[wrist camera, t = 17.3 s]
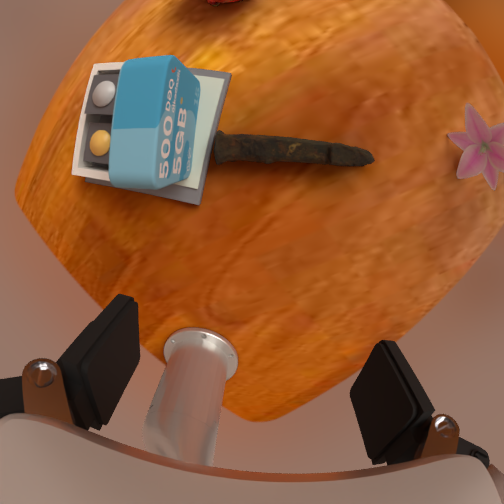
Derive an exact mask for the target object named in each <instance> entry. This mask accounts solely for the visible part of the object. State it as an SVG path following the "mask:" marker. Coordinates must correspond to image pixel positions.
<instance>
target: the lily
mask: <svg viewBox="0 0 504 504" xmlns="http://www.w3.org/2000/svg"><path fill="white" fill-rule="evenodd" d="M465 128H466V132H452V133H448V134H447V135H448V137H449V138H450V140H452V141H453V142H454V143H455V144H456V145H457V146H458V147H459V148H461V149H462V150H463V151H464V152H463V154H462V156H461V159H460V162H459V165H458V169H457V173H456V175H457V178H458V179H464V178H469V177H473V176H476V175H478V174H480V173H482V174H483V176H484V178H485V179H486V181H487V183H488V184H489V186H490V187H491V188H492V190H494V191H495V190H496V187H497V181H498V171H500V172H504V123H500V124H497V125H495V126H492V127H490V128H489V127H488V125H487V124H486V122H485V121H484V120H483V118H482V117H481V116H480V115H479V113H478V112H477V111H476V110H475V109H474V107H473V106H472V105H471V104H469V103H466V105H465Z"/></svg>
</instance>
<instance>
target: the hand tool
mask: <svg viewBox="0 0 504 504" xmlns="http://www.w3.org/2000/svg"><path fill="white" fill-rule="evenodd" d="M214 155H215V160H216V164H218V165H220V164H222V163H224V162H226V161H232V162H234V161H237V160H242V161H251V162H261V163H262V162H263V163H266V164H270V163H273V162H277V161H280V162H302V163H317V164H324V165H326V164H329V165H336V166H364V165H367V164H371V163H373V162H374V161H375V160H374V158H373V156H372V154H371V153H370V152H369V151H367V150H364V149H361V148H358V147H350V146H347V145H344V144H341V143H329V142H323V141H315V140H307V139H299V138H291V137H279V136H265V135H247V134H238V135H227V134H224V133H223V132H222V131H220V130H219V131H217V133H216V136H215V145H214Z"/></svg>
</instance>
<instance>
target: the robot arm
mask: <svg viewBox="0 0 504 504" xmlns="http://www.w3.org/2000/svg"><path fill="white" fill-rule="evenodd" d="M164 357H165V360H166V362H167V365H166V368H165V370H164V373H163V375H162V378H161V380H160V383H159V385H158V388H157V390H156V393H155V395H154V398H153V400H152V403H151V405H150V408H149V410H148V413H147V416H146V419H145V421H144V424H143V427H142V438H143V443H144V446H145V448H146V450H147V451H144V450H140V449H137V448H134V447H131V446H128V445H125V444H122V443H119V442H116V441H113V440H111V439H108V438H106V437H103V436H100V435H98V434H95V433H93V432H90V431H88V429H89V427H92V428H94V429H97V430H100V429H101V427H102V425H103V424H104V425H107V424H108V422H109V420H110V418H111V416H112V414H113V412H114V410H115V408H116V406H117V404H118V402H119V400H120V398H121V396H122V394H123V392H124V390H125V388H126V386H127V384H128V382H129V380H130V378H131V377H132V375H133V373H134V371H135V369H136V367H137V365H138V363H139V360H140V345H139V324H138V303H137V302H134V298H133V297H130V296H126V295H122V294H118V295H117V296H116V297H115V298H114V299H113V300H112V301H111V302H110V303H109V305H108V306H107V307H106V308H105V309H104V310H103V311H102V312H101V313H100V314H99V316H98V317H97V318H96V319H95V320H94V321H92V322H90V323H89V325H88V326H87V327H86V328H85V329H84V330H83V331H82V332H81V334H80V335H79V336H78V337H77V338H76V339H75V340H74V342H73V343H72V344H71V345H70V346H69V348H68V349H67V350H66V351H65V352H64V353H63V355H62V356H61V357H60V358H59V359H58V361H57V362H54V361H52V360H50V359H47V358H38V359H34V360H32V361H30V362H29V363H28V364H27V365H26V366H25V367H24V369H23V372H22V376H19V377H13V378H7V379H0V504H504V474H503V473H501V472H500V471H499V470H498V469H497V468H496V467H495V466H494V465H493V464H490V465H489V456H488V453H487V452H486V451H485V450H483V449H482V448H480V447H478V446H476V445H474V444H472V443H470V442H468V441H466V440H464V439H462V438H460V437H459V432H460V429H459V426H458V424H457V423H456V421H455V420H454V419H453V418H452V417H450V416H449V415H446V414H438V415H436V416H435V417H432V416H431V415H432V413H433V412H434V411H435V409H434V407H433V405H432V403H431V402H430V400H429V398H428V396H427V394H426V393H425V391H424V389H423V387H422V386H421V384H420V382H419V380H418V379H417V377H416V375H415V374H414V372H413V370H412V368H411V367H410V365H409V364H408V362H407V360H406V359H405V357H404V355H403V354H402V352H401V350H400V349H399V347H398V346H397V344H396V343H395V341H388V340H381V341H380V342H379V343H377V344H376V345H375V346H374V348H373V350H372V352H371V354H370V356H369V358H368V359H367V361H366V363H365V365H364V367H363V369H362V370H361V372H360V374H359V376H358V377H357V379H356V381H355V382H354V384H353V386H352V388H351V390H350V398H351V401H352V404H353V408H354V410H355V414H356V417H357V421H358V424H359V427H360V431H361V434H362V437H363V441H364V445H365V448H366V452H367V455H368V457H369V458H370V459H371V460H372V464H373V465H376V464H382V463H385V462H387V466H382V467H375V468H369V469H362V470H354V471H344V472H332V473H311V474H282V473H261V472H249V471H239V470H231V469H223V468H217V467H213V460H214V452H215V445H216V438H217V432H218V425H219V419H220V413H221V406H222V400H223V394H224V388H225V381H226V380H228V379H229V378H231V377H232V376H233V375H234V374H235V372H236V370H237V366H238V356H237V352H236V350H235V348H234V347H233V346H232V344H231V343H230V342H229V341H228V340H227V339H225V338H224V337H222V336H221V335H219V334H217V333H215V332H213V331H210V330H207V329H203V328H184V329H181V330H178V331H176V332H174V333H173V334H171V336H170V337H169V338H168V339H167V341H166V343H165V346H164Z"/></svg>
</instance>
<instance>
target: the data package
mask: <svg viewBox="0 0 504 504" xmlns="http://www.w3.org/2000/svg"><path fill="white" fill-rule="evenodd" d="M199 99H200V82H199V80H198V79H197V78H196V77H195V76H194V75H193V74H192V73H191V72H190V71H189V70H188V69H187V68H186V67H185V66H184V65H183V64H182V63H181V62H180V61H179V60H178V59H177V58H176V57H175V56H173V55H166V56H155V57H145V58H137V59H130V60H127V61H125V62H124V63H123V65H122V67H121V69H120V72H119V77H118V83H117V89H116V95H115V102H114V109H113V117H112V127H111V137H110V150H109V168H108V174H109V179H110V182H111V184H112V185H113V186H114V187H120V188H138V189H153V190H158V189H161V188H164V187H166V186H169V185H171V184H174V183H177V182H179V181H182V180H185V179H187V178H188V177H189V175H190V172H191V168H192V158H193V148H194V139H195V130H196V122H197V114H198V106H199Z"/></svg>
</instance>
